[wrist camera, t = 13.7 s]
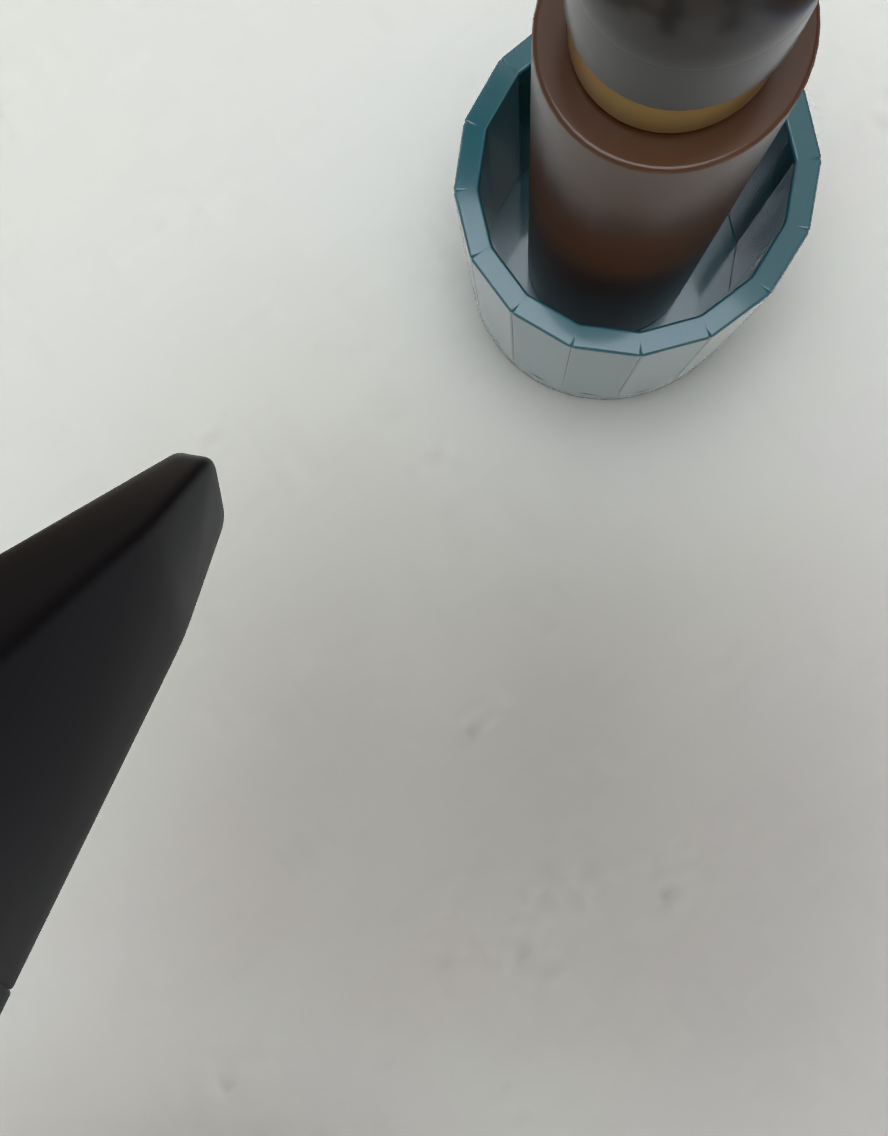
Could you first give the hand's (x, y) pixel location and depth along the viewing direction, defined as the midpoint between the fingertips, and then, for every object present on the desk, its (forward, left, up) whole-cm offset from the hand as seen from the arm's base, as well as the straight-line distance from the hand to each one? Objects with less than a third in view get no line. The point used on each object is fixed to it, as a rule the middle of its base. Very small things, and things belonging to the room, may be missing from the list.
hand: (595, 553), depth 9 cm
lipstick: (+7, -3, -12) cm, 14 cm away
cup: (+7, -3, -12) cm, 14 cm away
